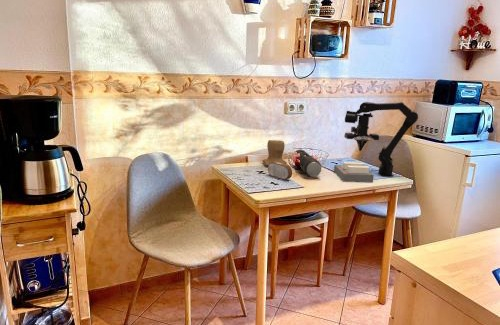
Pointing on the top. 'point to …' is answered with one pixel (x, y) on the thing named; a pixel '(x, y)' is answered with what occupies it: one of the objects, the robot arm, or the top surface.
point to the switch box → (352, 175)
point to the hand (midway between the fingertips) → (359, 150)
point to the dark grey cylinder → (309, 164)
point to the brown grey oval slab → (279, 170)
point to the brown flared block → (275, 152)
